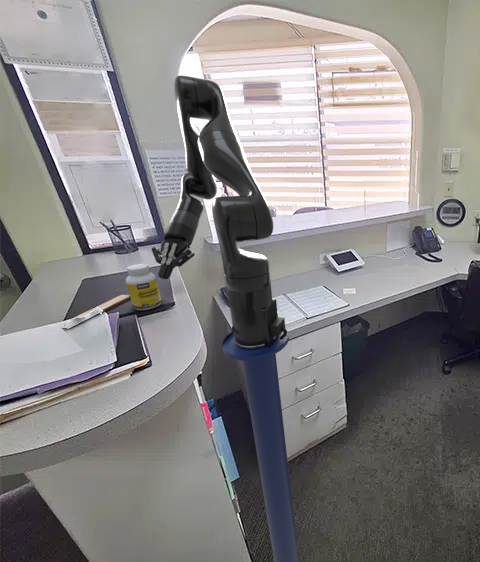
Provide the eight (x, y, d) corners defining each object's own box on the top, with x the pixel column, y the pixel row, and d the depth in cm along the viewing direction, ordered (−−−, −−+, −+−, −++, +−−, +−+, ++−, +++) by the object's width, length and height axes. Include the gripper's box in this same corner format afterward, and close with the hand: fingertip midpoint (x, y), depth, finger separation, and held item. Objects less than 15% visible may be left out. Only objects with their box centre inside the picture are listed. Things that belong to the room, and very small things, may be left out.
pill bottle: (135, 313, 82) (123, 272, 77) (132, 305, 86) (120, 265, 82) (164, 306, 86) (154, 267, 81) (159, 298, 90) (150, 261, 86)
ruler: (131, 297, 90) (131, 295, 90) (69, 329, 74) (68, 326, 73) (122, 297, 90) (121, 294, 90) (58, 328, 74) (56, 325, 74)
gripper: (209, 235, 100) (191, 284, 93) (170, 233, 101) (151, 281, 94) (195, 222, 93) (175, 274, 86) (154, 220, 94) (132, 271, 88)
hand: (162, 278), depth 90 cm, fingers closed
